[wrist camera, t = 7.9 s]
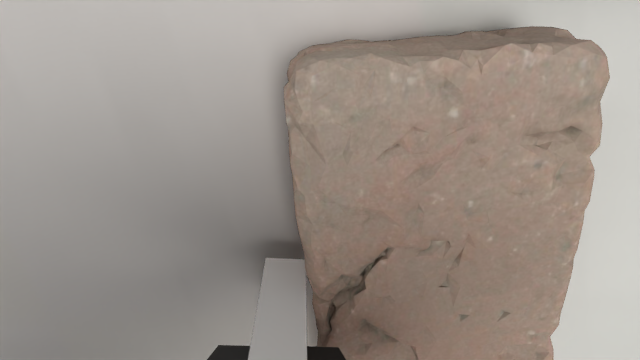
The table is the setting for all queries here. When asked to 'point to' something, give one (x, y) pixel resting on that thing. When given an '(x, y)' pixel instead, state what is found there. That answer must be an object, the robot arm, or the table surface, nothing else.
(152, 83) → the table surface
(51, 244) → the table surface
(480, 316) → the brick
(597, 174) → the table surface
